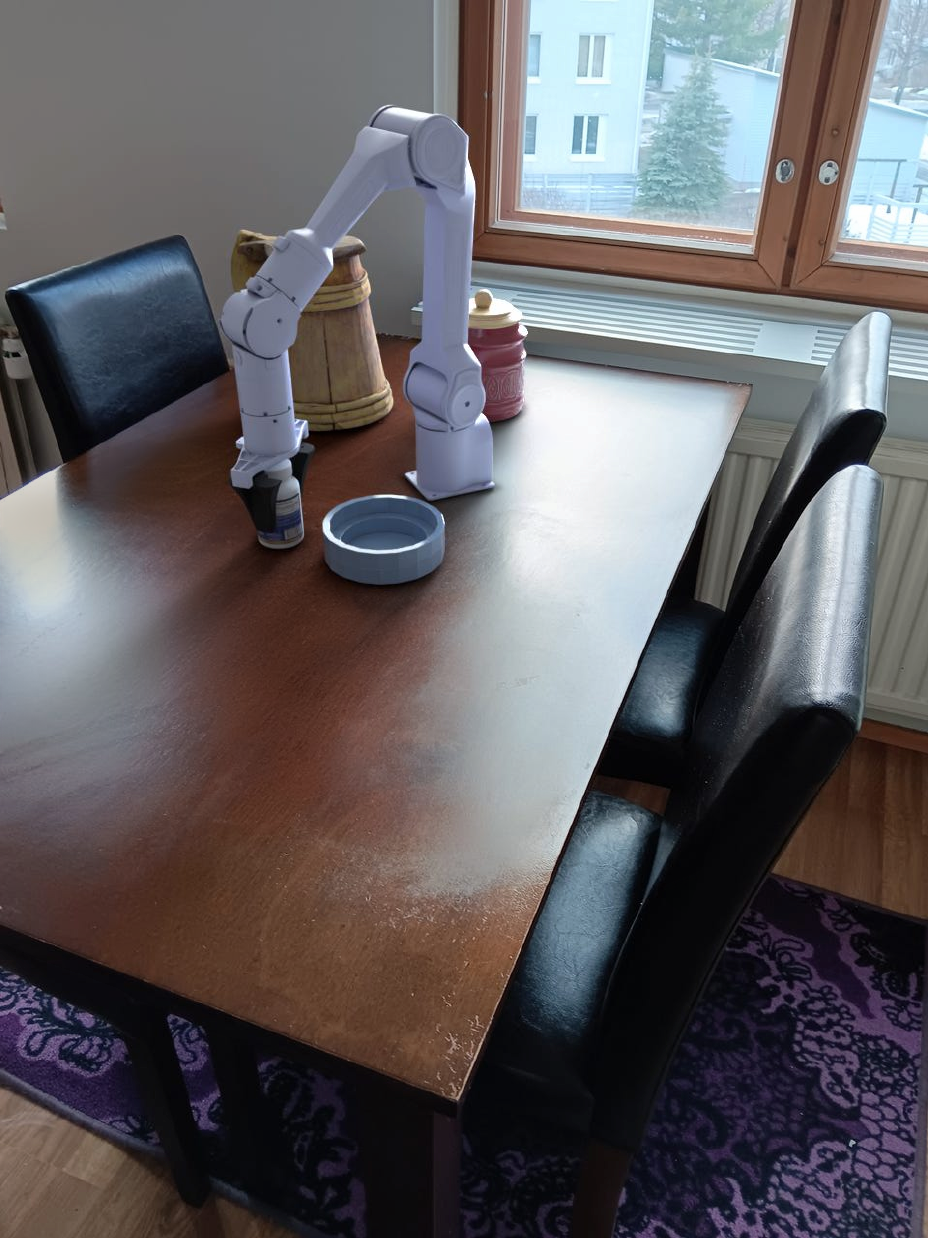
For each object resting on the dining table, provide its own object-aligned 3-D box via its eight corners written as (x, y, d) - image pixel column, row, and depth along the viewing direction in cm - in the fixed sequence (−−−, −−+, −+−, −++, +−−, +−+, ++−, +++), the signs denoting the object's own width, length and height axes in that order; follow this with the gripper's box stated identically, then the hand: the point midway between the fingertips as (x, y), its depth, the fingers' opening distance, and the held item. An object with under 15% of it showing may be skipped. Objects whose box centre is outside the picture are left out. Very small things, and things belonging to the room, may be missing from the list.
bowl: (415, 519, 119) (414, 485, 116) (464, 572, 109) (464, 537, 106) (309, 542, 114) (306, 508, 111) (349, 600, 104) (347, 564, 101)
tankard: (369, 441, 137) (360, 258, 123) (218, 422, 142) (192, 245, 128) (408, 394, 152) (403, 226, 138) (269, 379, 157) (251, 216, 142)
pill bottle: (260, 528, 116) (250, 453, 111) (305, 526, 117) (298, 452, 111) (256, 551, 112) (246, 474, 106) (303, 549, 112) (295, 473, 107)
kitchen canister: (471, 385, 155) (472, 272, 145) (540, 403, 149) (546, 287, 139) (421, 410, 147) (419, 292, 137) (492, 431, 140) (495, 309, 130)
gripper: (265, 378, 112) (276, 485, 119) (198, 426, 100) (216, 540, 108) (320, 386, 110) (329, 493, 118) (259, 436, 99) (273, 551, 106)
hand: (279, 517), depth 113 cm, fingers open, 6 cm apart
